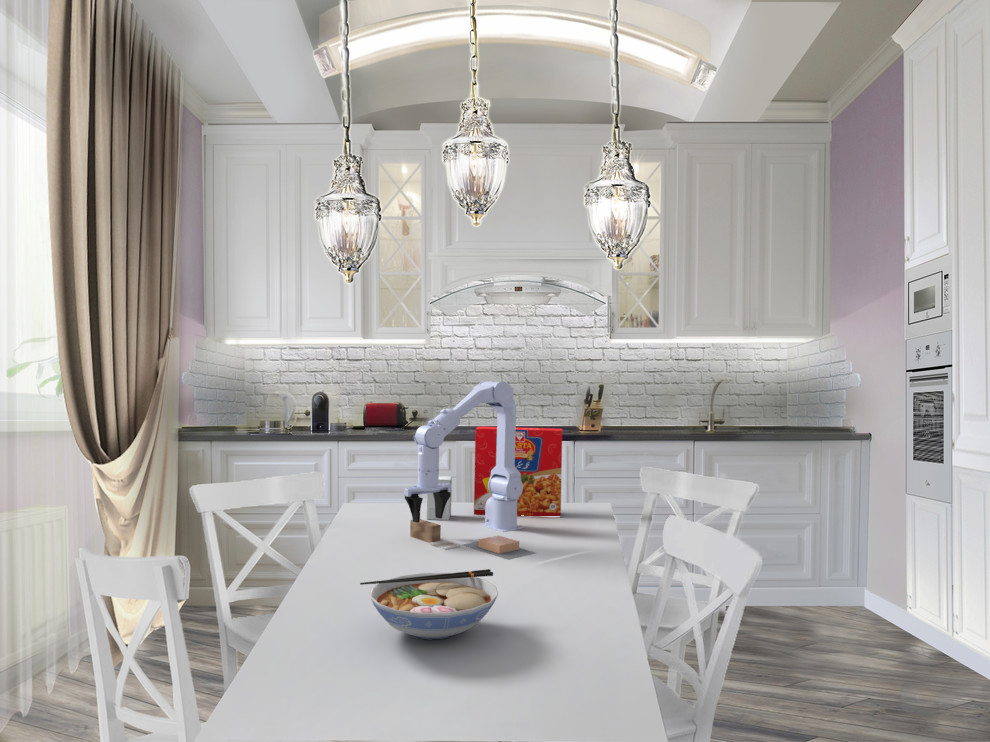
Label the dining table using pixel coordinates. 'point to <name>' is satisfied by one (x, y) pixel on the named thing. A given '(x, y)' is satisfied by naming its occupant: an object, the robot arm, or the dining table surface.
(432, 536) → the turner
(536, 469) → the pasta box
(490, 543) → the tile
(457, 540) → the dining table surface
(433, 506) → the supplement box
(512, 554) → the mat
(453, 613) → the ramen bowl
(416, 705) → the dining table surface
